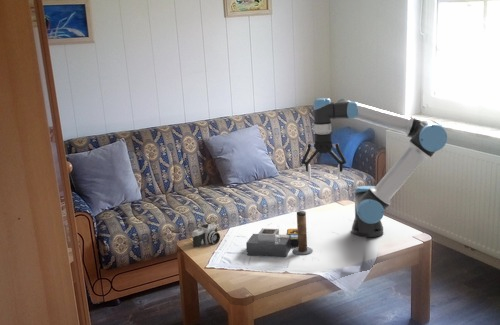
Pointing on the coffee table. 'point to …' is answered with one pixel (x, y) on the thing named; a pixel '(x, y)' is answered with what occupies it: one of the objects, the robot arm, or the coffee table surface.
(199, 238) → the camera
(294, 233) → the electronic device
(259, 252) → the box
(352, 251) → the coffee table surface
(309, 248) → the coaster
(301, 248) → the brown cylinder with cap
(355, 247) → the coffee table surface
